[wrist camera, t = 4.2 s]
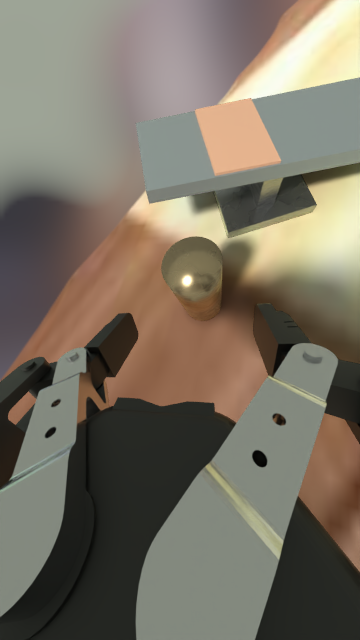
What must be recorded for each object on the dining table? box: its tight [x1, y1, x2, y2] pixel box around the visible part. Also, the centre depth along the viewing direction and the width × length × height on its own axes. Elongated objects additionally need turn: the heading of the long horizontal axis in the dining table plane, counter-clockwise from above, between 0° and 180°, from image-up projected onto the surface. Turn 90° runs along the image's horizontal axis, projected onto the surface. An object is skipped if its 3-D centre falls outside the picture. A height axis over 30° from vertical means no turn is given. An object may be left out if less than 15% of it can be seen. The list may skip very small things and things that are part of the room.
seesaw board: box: [136, 78, 360, 204], centre depth 16 cm, size 26×10×1 cm, turn 100°
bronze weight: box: [161, 237, 222, 321], centre depth 16 cm, size 4×4×9 cm
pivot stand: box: [214, 174, 317, 238], centre depth 20 cm, size 10×12×5 cm
